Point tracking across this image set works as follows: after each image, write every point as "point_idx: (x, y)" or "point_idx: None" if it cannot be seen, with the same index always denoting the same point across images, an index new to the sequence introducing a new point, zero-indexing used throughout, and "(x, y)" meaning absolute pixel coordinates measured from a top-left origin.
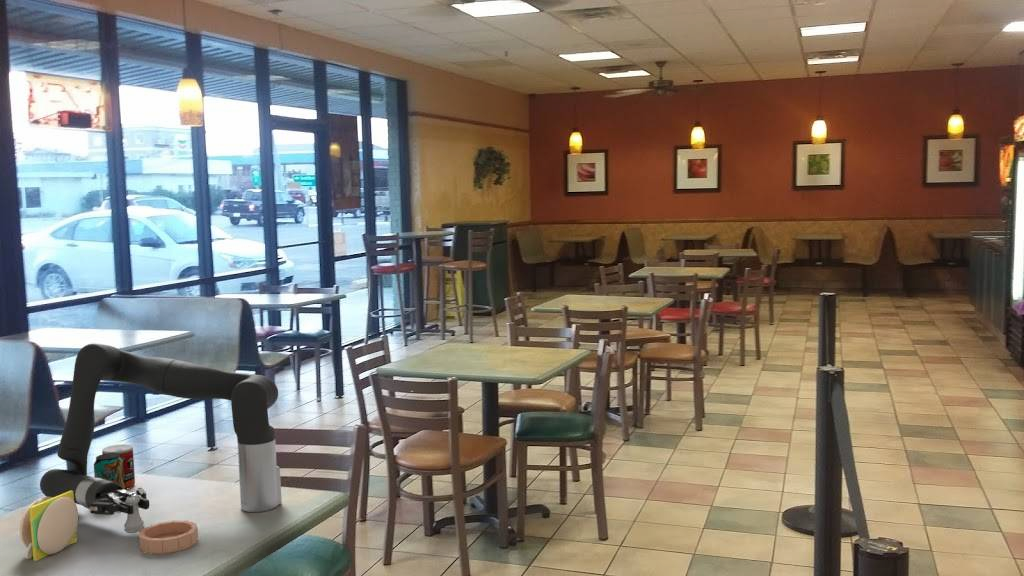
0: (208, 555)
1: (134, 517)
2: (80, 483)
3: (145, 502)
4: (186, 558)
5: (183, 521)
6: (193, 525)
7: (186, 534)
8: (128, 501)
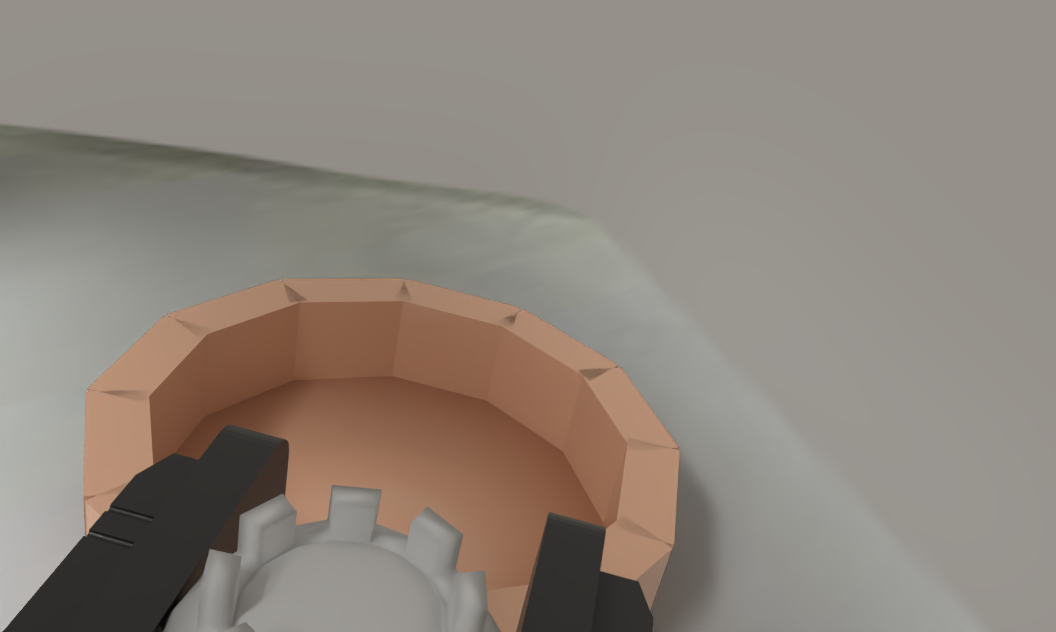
0: (479, 273)
1: None
2: None
3: (283, 462)
4: (570, 335)
5: (115, 410)
6: (228, 313)
7: (441, 290)
8: (487, 621)
